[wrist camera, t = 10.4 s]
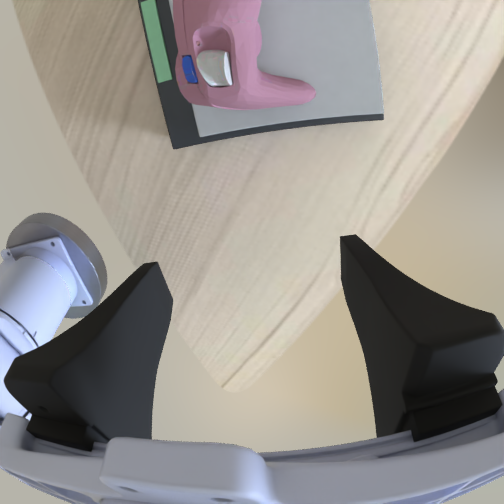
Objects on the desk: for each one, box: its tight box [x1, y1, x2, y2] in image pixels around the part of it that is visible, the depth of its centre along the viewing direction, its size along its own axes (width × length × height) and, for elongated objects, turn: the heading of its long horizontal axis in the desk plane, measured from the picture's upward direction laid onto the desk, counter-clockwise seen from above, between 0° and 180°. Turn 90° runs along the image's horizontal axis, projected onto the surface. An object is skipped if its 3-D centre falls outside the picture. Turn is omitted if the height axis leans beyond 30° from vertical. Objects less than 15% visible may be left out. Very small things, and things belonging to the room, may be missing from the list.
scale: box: [138, 0, 384, 149], centre depth 14 cm, size 12×13×3 cm
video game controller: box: [173, 0, 316, 110], centre depth 10 cm, size 10×5×7 cm
